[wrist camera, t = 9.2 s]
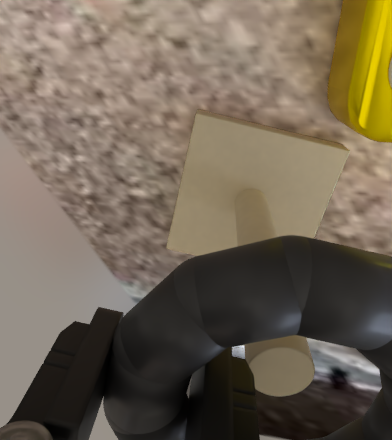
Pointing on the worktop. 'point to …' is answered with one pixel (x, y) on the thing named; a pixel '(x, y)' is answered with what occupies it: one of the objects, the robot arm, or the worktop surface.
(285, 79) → the worktop surface
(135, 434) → the ring
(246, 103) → the worktop surface
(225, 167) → the stand
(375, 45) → the element tile
